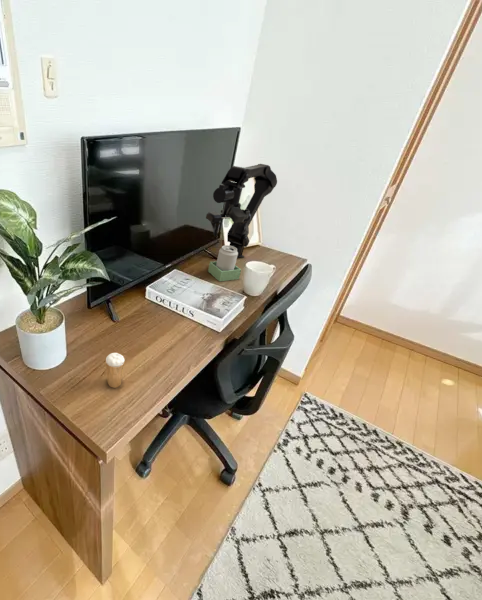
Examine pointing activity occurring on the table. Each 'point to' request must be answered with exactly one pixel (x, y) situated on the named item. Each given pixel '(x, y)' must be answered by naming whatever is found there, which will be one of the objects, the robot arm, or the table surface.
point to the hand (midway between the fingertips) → (224, 235)
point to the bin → (223, 272)
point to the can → (227, 258)
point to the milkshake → (114, 369)
